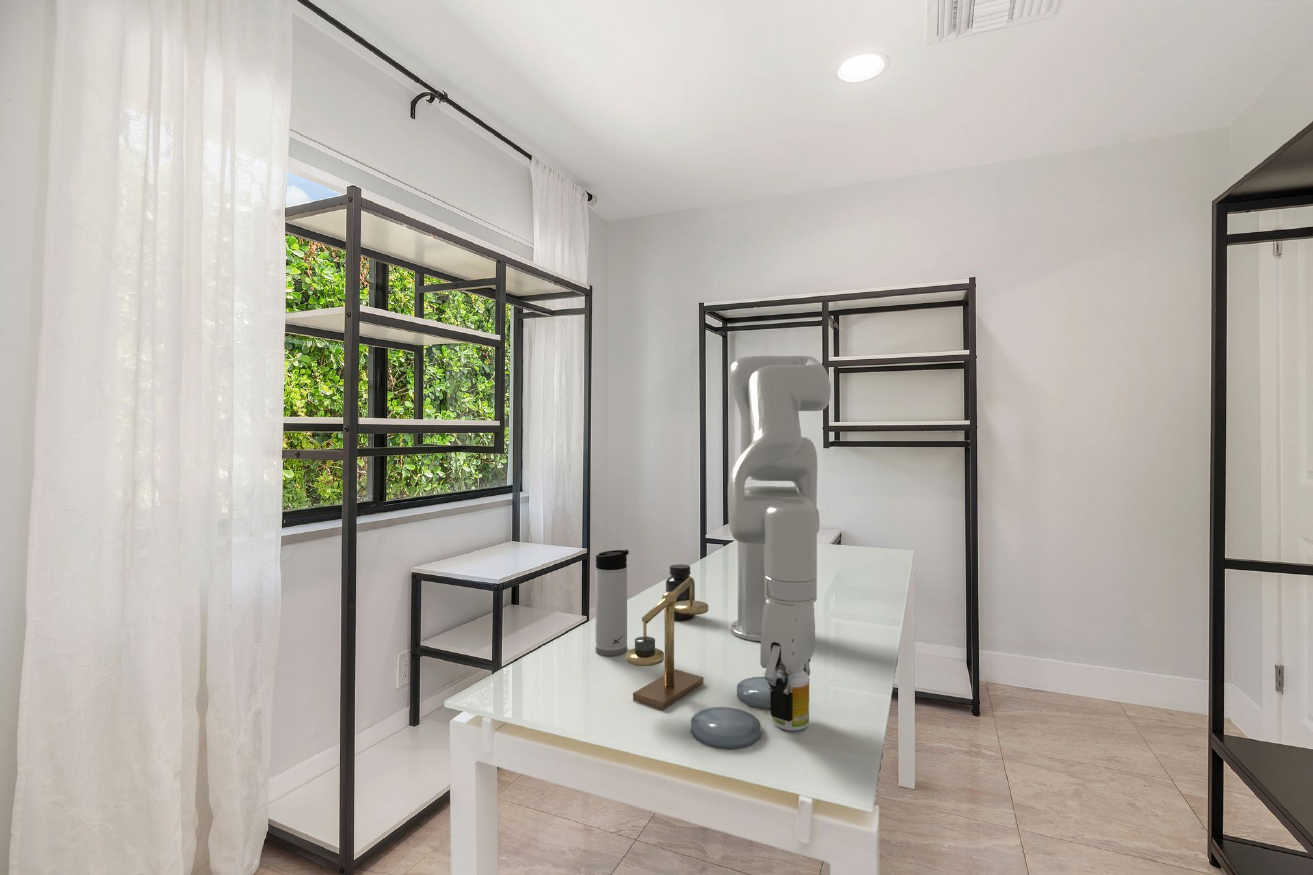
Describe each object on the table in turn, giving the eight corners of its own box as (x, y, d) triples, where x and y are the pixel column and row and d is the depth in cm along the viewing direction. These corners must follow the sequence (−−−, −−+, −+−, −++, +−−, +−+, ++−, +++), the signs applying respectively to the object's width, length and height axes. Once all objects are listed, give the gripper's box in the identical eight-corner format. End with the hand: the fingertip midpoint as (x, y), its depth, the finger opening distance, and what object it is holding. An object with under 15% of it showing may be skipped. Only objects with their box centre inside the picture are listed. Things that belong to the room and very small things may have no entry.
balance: (686, 668, 109) (686, 571, 108) (714, 676, 105) (714, 575, 105) (618, 708, 93) (617, 594, 93) (648, 719, 89) (648, 600, 89)
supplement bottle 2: (810, 716, 90) (810, 652, 89) (807, 734, 84) (807, 666, 84) (774, 711, 91) (774, 648, 91) (769, 727, 86) (769, 661, 86)
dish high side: (753, 678, 104) (753, 671, 104) (808, 693, 98) (808, 685, 98) (725, 699, 96) (725, 691, 96) (783, 716, 90) (783, 708, 90)
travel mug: (624, 657, 114) (624, 553, 114) (591, 655, 115) (591, 552, 115) (632, 646, 120) (632, 547, 120) (600, 643, 122) (600, 546, 122)
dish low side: (713, 708, 93) (713, 700, 93) (772, 727, 87) (772, 718, 87) (677, 734, 85) (677, 726, 85) (740, 757, 79) (740, 747, 79)
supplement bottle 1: (700, 615, 141) (700, 565, 141) (685, 623, 135) (685, 570, 135) (675, 611, 144) (675, 561, 144) (660, 618, 139) (660, 567, 138)
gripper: (789, 572, 97) (789, 683, 97) (740, 597, 83) (740, 726, 83) (835, 579, 92) (834, 695, 93) (791, 607, 78) (790, 742, 79)
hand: (790, 708), depth 88 cm, fingers closed on supplement bottle 2, 5 cm apart
